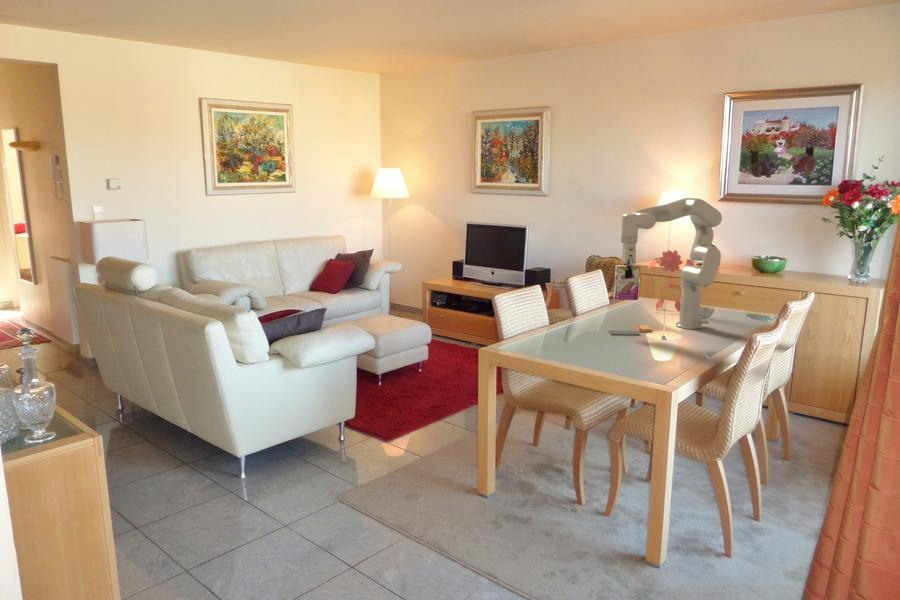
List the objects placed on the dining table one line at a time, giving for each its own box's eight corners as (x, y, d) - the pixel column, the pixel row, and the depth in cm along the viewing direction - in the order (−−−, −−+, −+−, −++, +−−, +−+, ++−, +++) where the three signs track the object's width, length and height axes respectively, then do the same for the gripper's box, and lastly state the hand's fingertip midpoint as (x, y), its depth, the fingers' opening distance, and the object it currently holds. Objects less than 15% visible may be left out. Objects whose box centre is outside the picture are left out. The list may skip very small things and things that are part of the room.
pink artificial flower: (648, 306, 386) (651, 246, 378) (693, 311, 372) (698, 250, 364) (639, 311, 373) (643, 250, 365) (686, 317, 359) (691, 254, 351)
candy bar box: (615, 299, 319) (616, 266, 315) (613, 297, 323) (615, 264, 320) (638, 300, 317) (640, 266, 314) (636, 298, 322) (638, 265, 319)
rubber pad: (636, 331, 327) (637, 330, 327) (640, 335, 320) (640, 334, 320) (608, 331, 328) (608, 330, 328) (610, 335, 321) (611, 333, 321)
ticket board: (647, 328, 334) (647, 324, 334) (651, 332, 327) (651, 328, 326) (635, 328, 335) (635, 324, 334) (639, 331, 327) (639, 328, 327)
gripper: (641, 241, 306) (639, 280, 310) (633, 237, 323) (631, 274, 326) (624, 241, 306) (622, 280, 310) (617, 237, 323) (616, 274, 327)
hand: (627, 276), depth 318 cm, fingers closed on candy bar box, 5 cm apart
